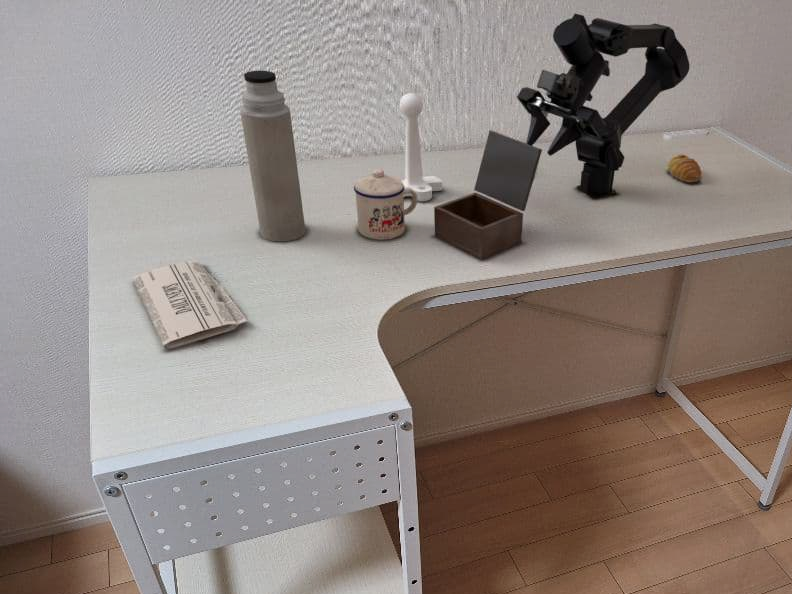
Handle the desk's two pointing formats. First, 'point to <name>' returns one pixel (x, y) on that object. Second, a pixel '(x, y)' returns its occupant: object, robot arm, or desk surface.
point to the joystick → (415, 152)
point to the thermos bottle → (272, 158)
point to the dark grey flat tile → (507, 170)
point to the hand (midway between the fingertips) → (538, 150)
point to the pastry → (684, 168)
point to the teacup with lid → (382, 205)
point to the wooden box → (478, 225)
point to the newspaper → (186, 303)
